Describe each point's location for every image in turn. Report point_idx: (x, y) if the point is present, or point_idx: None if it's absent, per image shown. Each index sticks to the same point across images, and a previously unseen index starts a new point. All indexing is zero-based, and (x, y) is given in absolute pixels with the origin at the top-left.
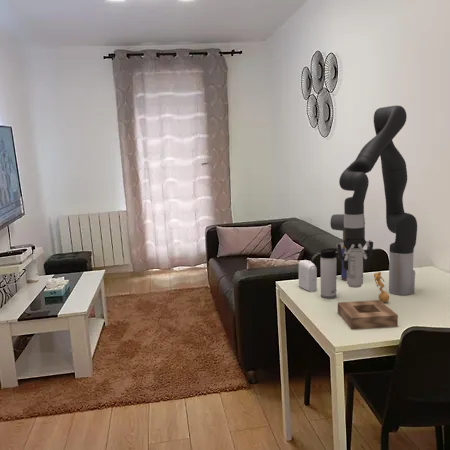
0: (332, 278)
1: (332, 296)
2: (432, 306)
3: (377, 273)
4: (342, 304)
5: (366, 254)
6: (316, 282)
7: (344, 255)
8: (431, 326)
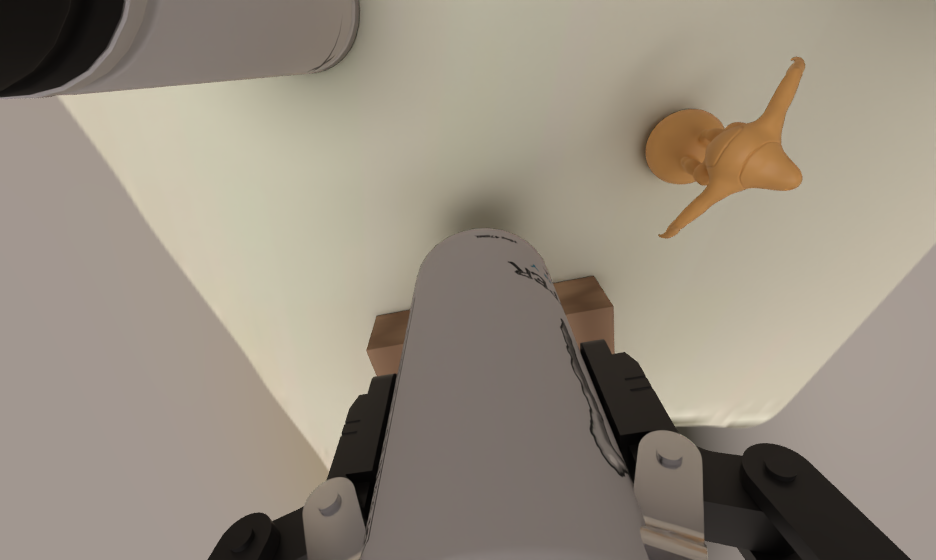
0: (271, 70)
1: (329, 65)
2: (899, 210)
3: (758, 179)
4: (392, 373)
5: (725, 529)
6: None
7: (329, 557)
8: (722, 422)
